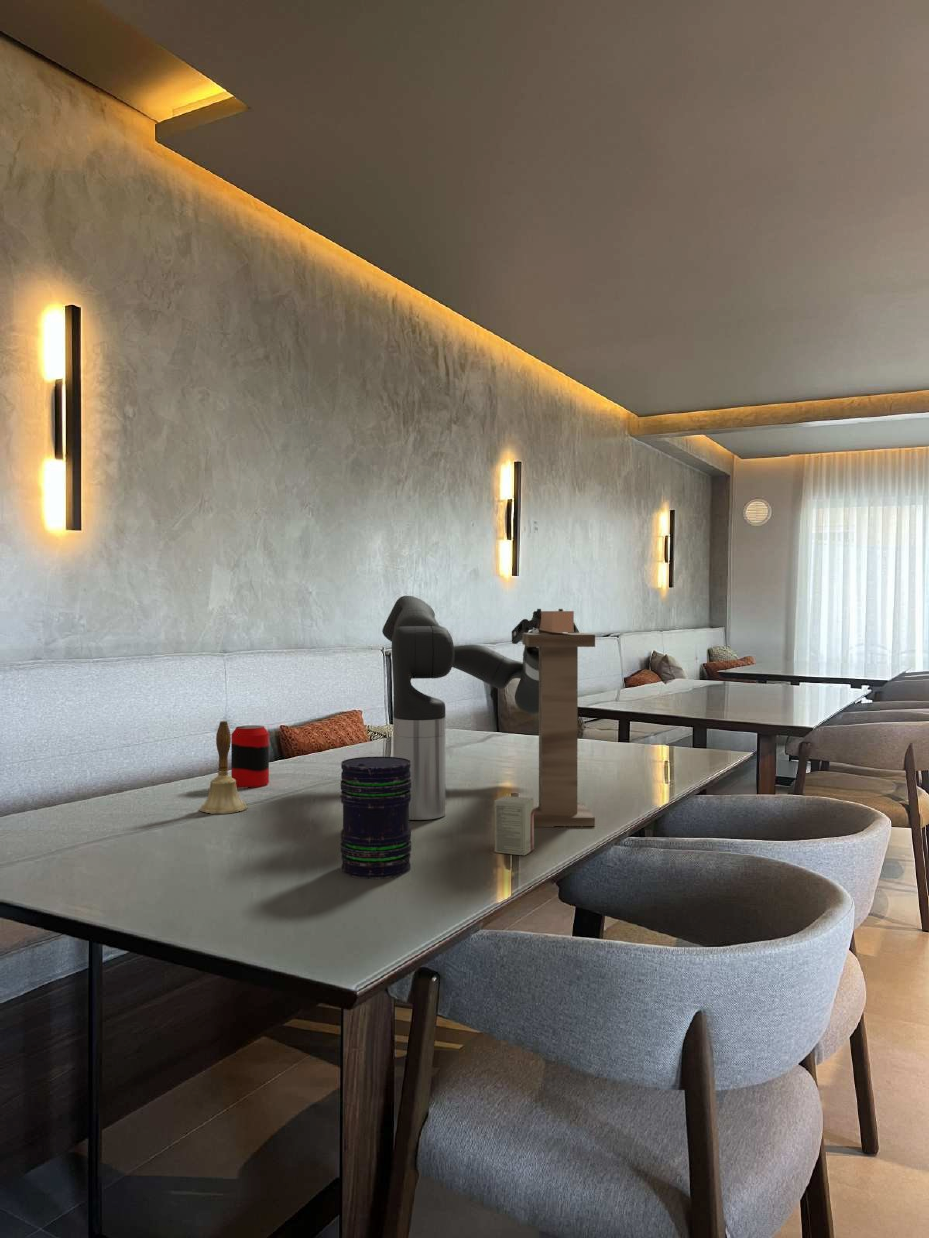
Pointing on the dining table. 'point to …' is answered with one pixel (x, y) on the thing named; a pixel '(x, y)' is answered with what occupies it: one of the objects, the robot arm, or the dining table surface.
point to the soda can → (250, 756)
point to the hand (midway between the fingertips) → (550, 613)
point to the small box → (514, 825)
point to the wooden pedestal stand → (559, 729)
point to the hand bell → (223, 780)
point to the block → (557, 621)
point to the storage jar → (375, 817)
